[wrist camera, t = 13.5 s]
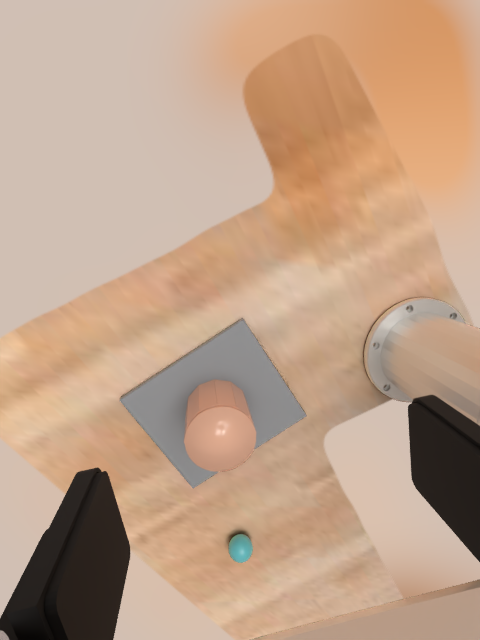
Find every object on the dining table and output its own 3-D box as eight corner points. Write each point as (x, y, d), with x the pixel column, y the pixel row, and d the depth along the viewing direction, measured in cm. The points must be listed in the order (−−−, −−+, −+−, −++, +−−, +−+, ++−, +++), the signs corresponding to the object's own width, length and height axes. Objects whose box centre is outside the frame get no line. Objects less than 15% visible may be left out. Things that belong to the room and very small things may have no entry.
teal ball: (252, 529, 45) (256, 549, 43) (248, 548, 46) (251, 569, 43) (229, 527, 45) (232, 547, 42) (225, 547, 46) (227, 568, 43)
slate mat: (242, 317, 39) (243, 319, 38) (304, 412, 42) (306, 415, 42) (121, 397, 39) (119, 400, 38) (193, 483, 43) (193, 488, 42)
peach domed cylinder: (252, 384, 40) (262, 412, 34) (240, 438, 41) (248, 474, 35) (191, 376, 39) (190, 403, 33) (182, 432, 40) (179, 468, 34)
